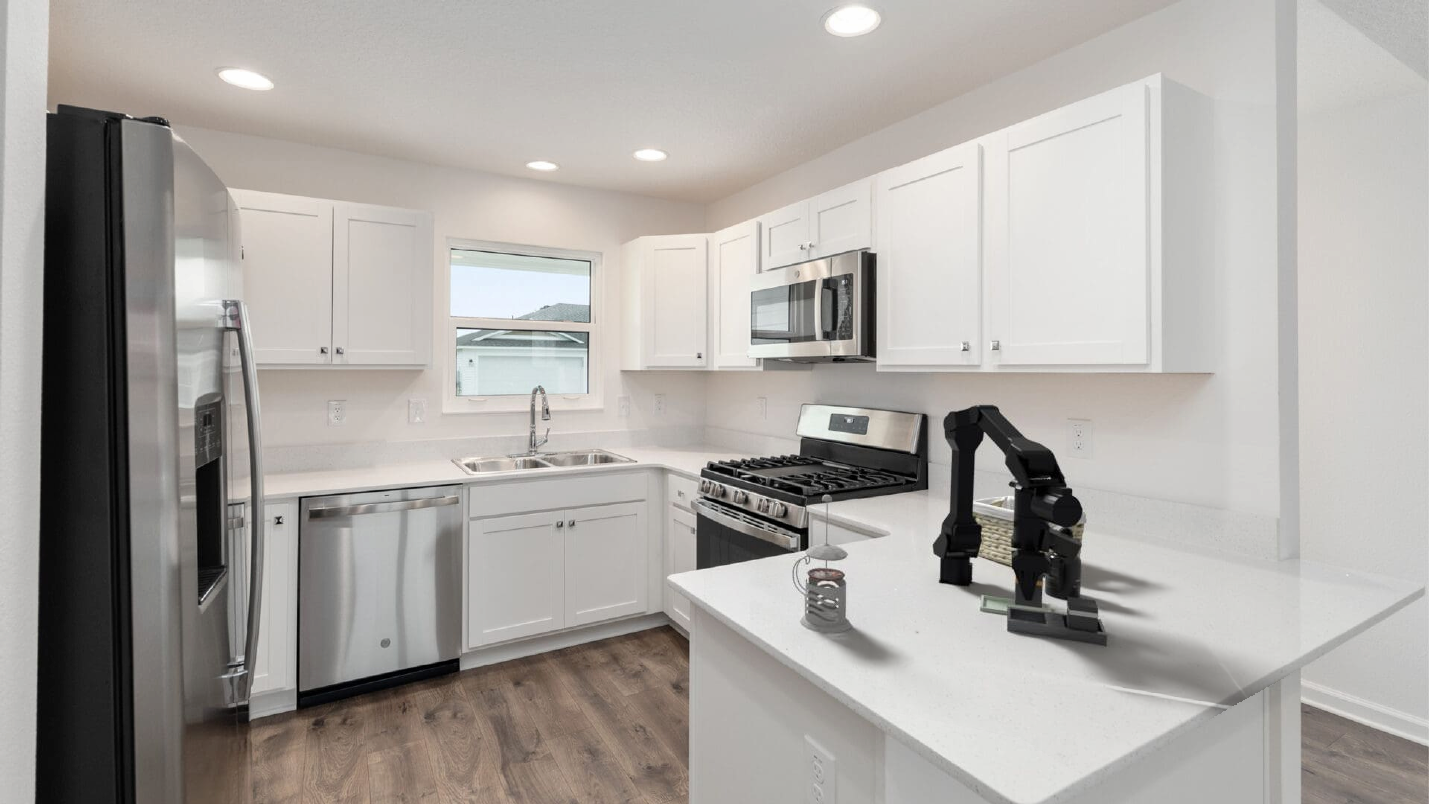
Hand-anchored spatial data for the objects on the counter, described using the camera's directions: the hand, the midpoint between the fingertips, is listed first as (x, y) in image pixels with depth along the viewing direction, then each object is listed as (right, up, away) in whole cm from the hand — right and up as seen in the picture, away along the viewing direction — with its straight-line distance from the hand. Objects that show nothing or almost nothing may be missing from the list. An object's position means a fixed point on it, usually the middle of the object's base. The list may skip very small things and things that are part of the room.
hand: (1027, 596), depth 124 cm
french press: (-39, -6, +3) cm, 39 cm away
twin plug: (+8, -6, -4) cm, 11 cm away
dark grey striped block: (0, -1, 0) cm, 1 cm away
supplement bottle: (+16, -6, +18) cm, 25 cm away
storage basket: (+20, -5, +45) cm, 49 cm away
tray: (+2, -6, +9) cm, 11 cm away
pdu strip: (+4, -6, -2) cm, 8 cm away
